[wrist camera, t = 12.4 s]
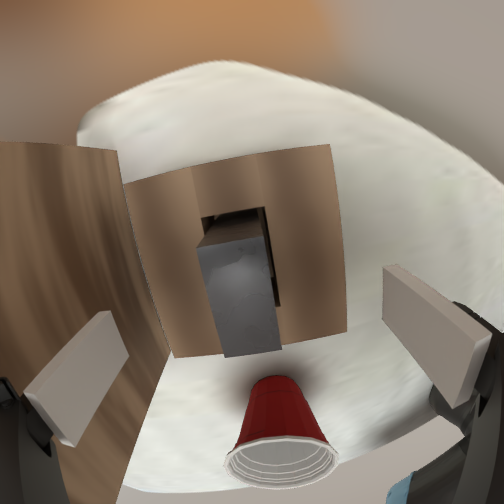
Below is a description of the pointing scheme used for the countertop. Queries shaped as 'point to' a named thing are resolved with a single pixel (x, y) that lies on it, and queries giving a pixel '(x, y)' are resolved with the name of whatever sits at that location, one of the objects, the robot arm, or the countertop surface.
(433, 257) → the countertop surface
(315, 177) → the wooden panel stand
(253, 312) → the dark grey rectangular post
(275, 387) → the plastic cup
